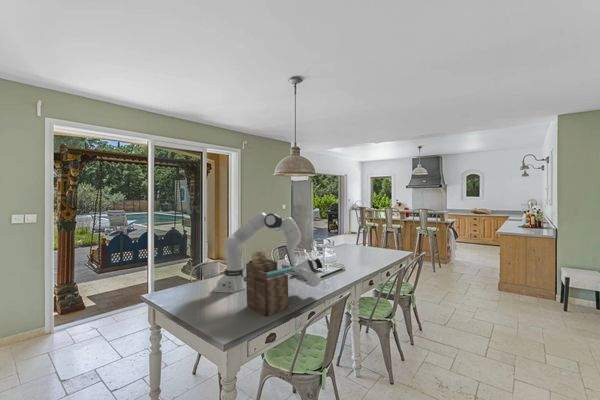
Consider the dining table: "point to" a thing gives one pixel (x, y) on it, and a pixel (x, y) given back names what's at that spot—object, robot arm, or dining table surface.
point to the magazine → (318, 263)
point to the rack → (265, 286)
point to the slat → (279, 272)
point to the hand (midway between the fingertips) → (287, 266)
